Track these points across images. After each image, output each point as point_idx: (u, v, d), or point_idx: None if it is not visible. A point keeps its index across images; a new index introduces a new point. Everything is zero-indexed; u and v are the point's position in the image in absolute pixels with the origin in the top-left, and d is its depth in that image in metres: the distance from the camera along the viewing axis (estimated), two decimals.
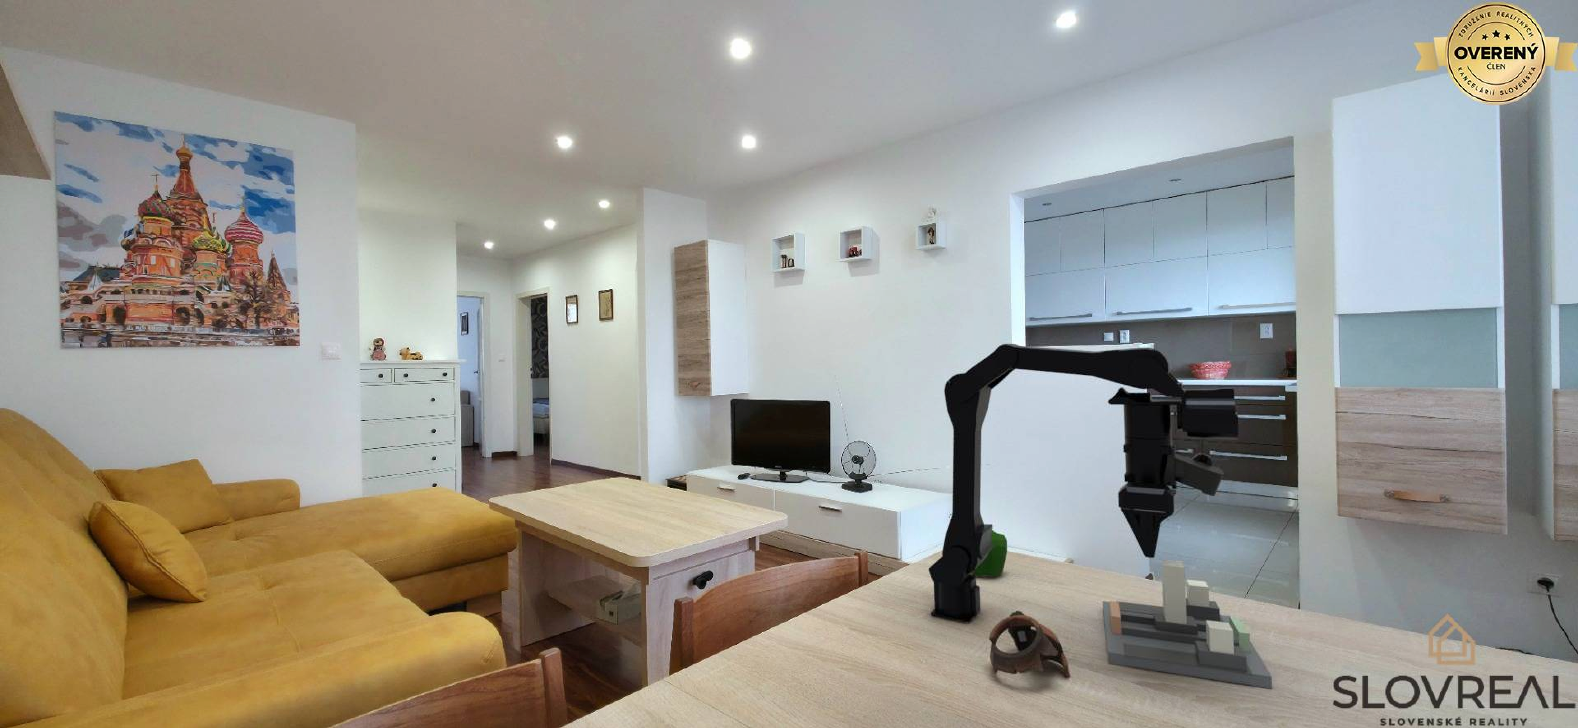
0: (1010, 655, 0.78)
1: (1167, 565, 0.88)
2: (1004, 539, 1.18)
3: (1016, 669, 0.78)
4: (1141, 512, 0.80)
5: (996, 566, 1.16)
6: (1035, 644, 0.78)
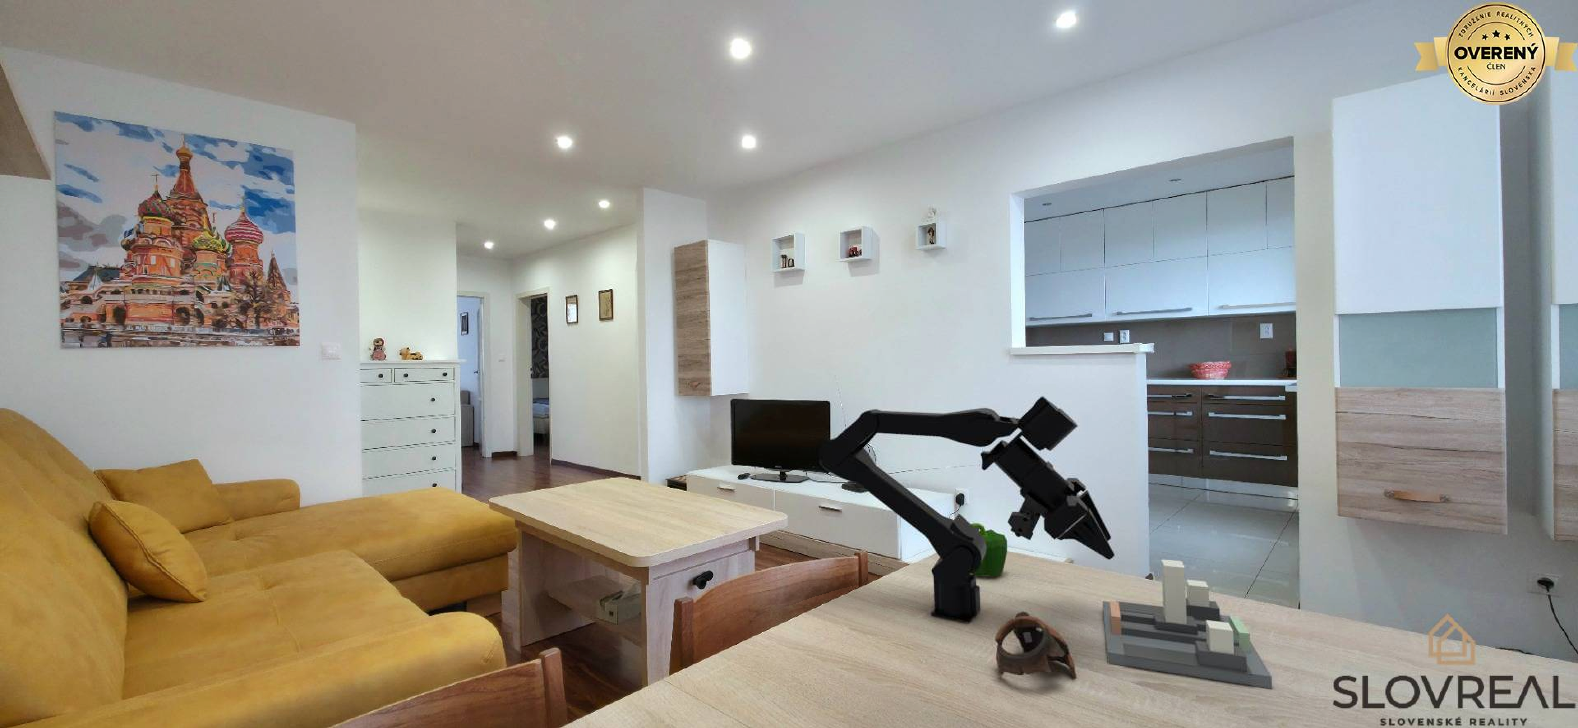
0: (1017, 656, 0.78)
1: (1167, 565, 0.88)
2: (1004, 539, 1.18)
3: (1023, 670, 0.78)
4: None
5: (996, 566, 1.16)
6: (1042, 645, 0.78)
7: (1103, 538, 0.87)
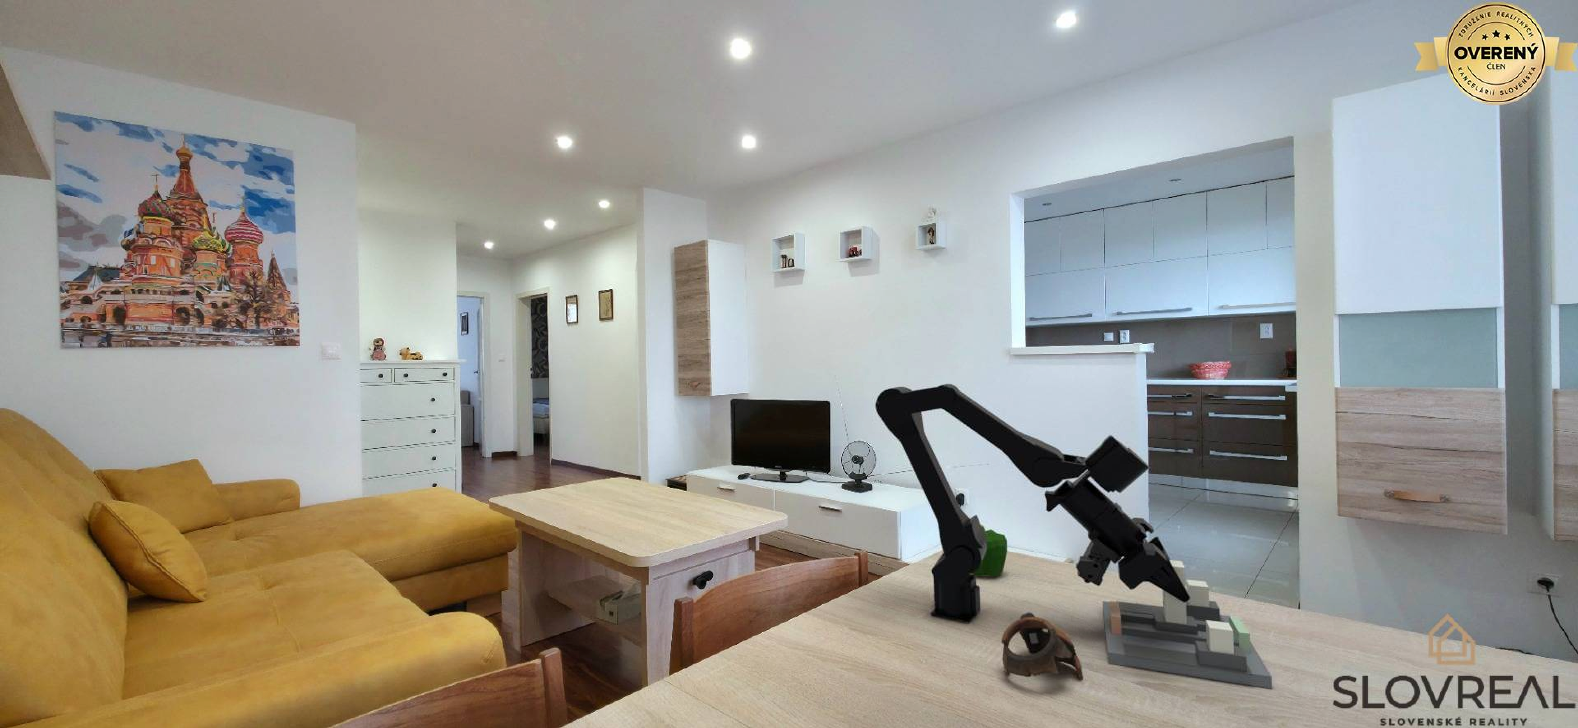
0: (1025, 657, 0.78)
1: None
2: (1004, 539, 1.18)
3: (1030, 672, 0.77)
4: None
5: (996, 566, 1.16)
6: (1049, 646, 0.77)
7: (1179, 581, 0.86)
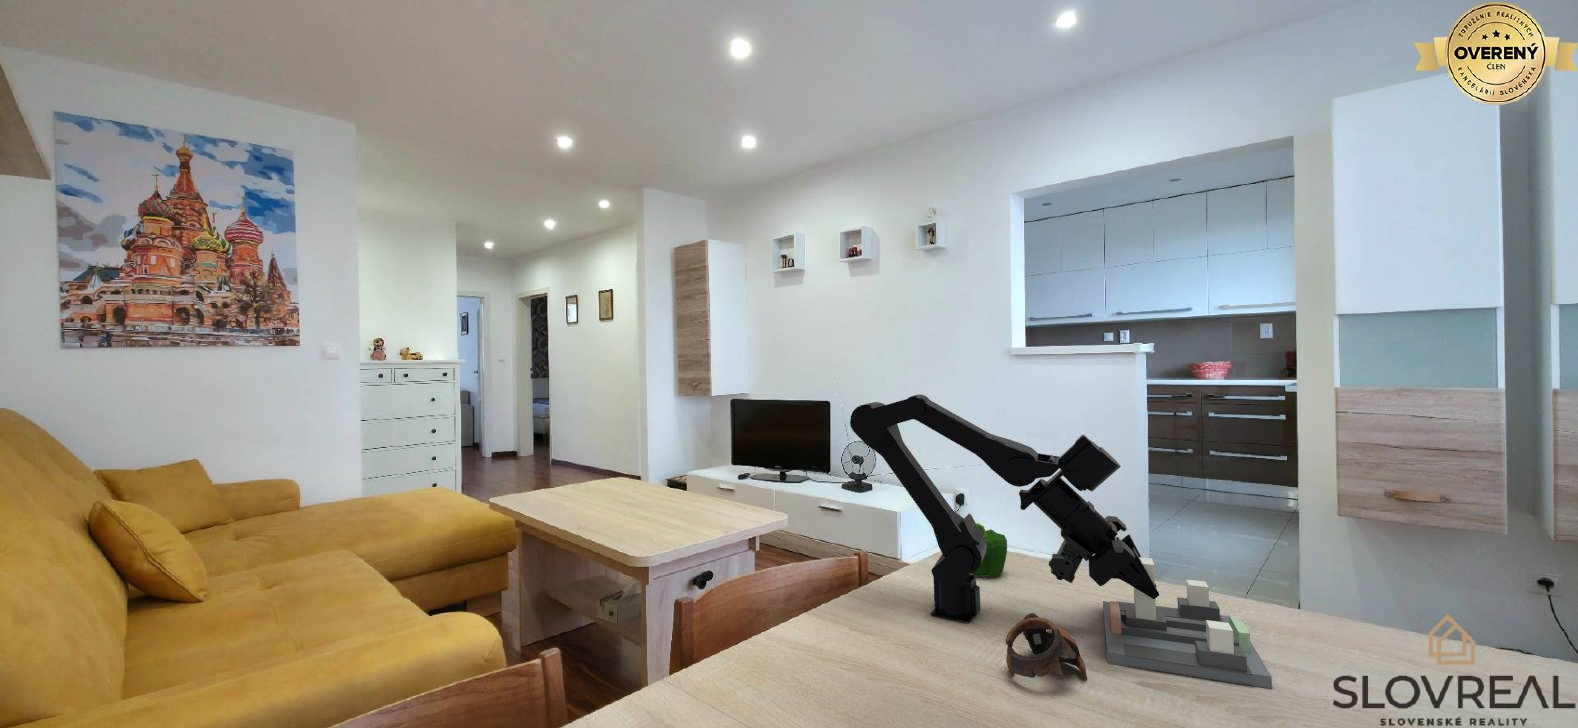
0: (1029, 658, 0.77)
1: None
2: (1004, 539, 1.18)
3: (1035, 673, 0.77)
4: None
5: (996, 566, 1.16)
6: (1054, 647, 0.77)
7: (1148, 578, 0.87)
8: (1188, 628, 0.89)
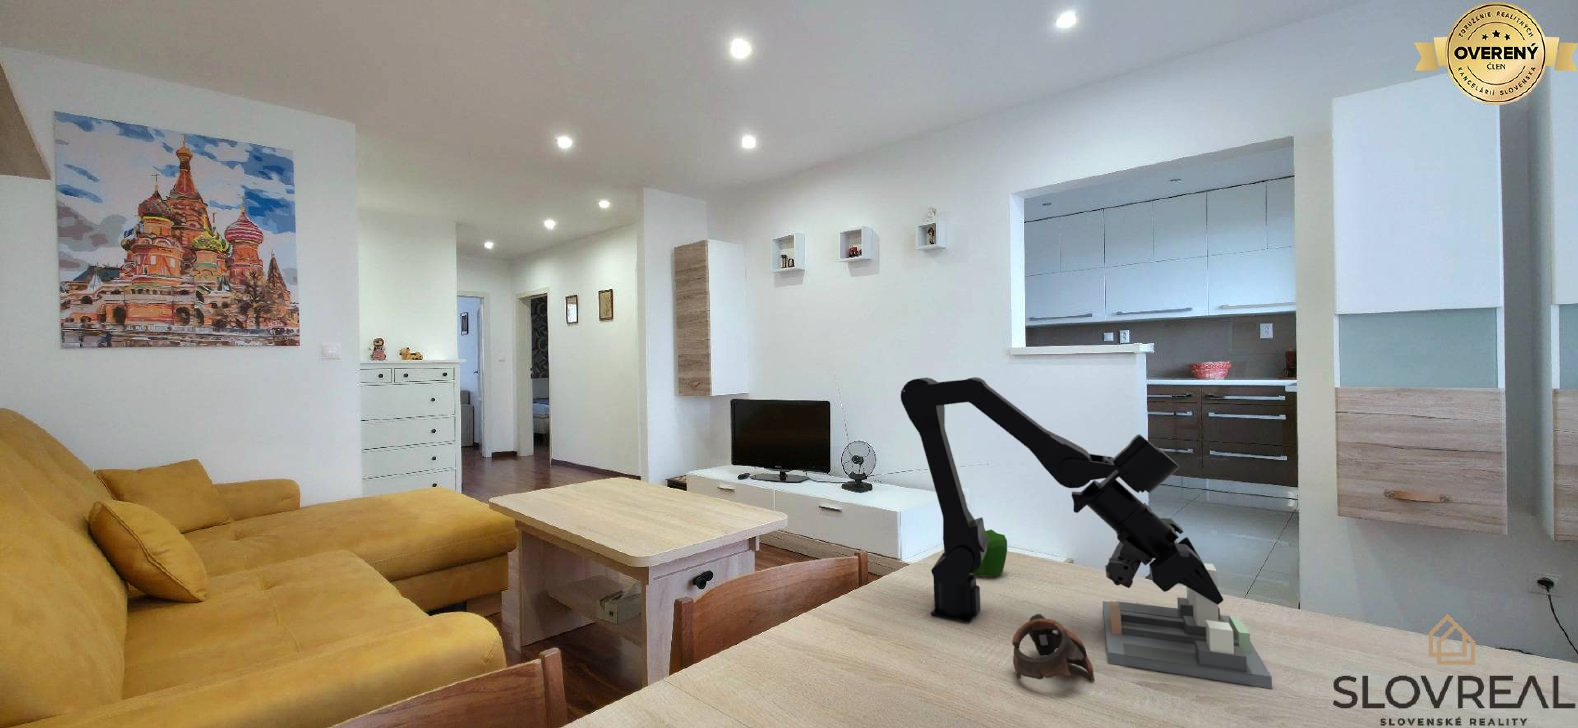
0: (1037, 660, 0.77)
1: None
2: (1004, 539, 1.18)
3: (1043, 674, 0.77)
4: None
5: (996, 566, 1.16)
6: (1062, 648, 0.77)
7: (1212, 582, 0.84)
8: None
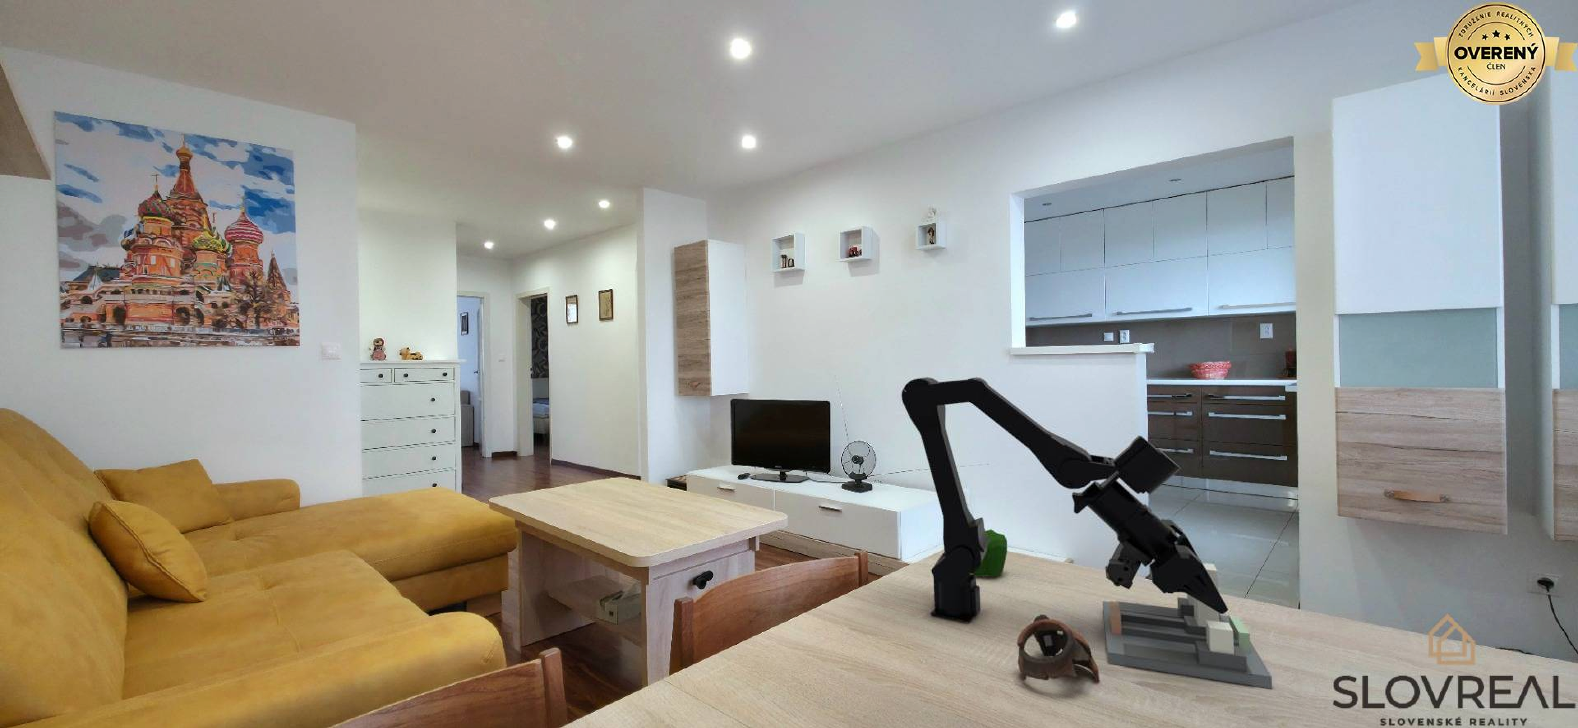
0: (1042, 660, 0.77)
1: None
2: (1004, 539, 1.18)
3: (1048, 675, 0.76)
4: None
5: (996, 566, 1.16)
6: (1067, 649, 0.76)
7: (1216, 591, 0.82)
8: None
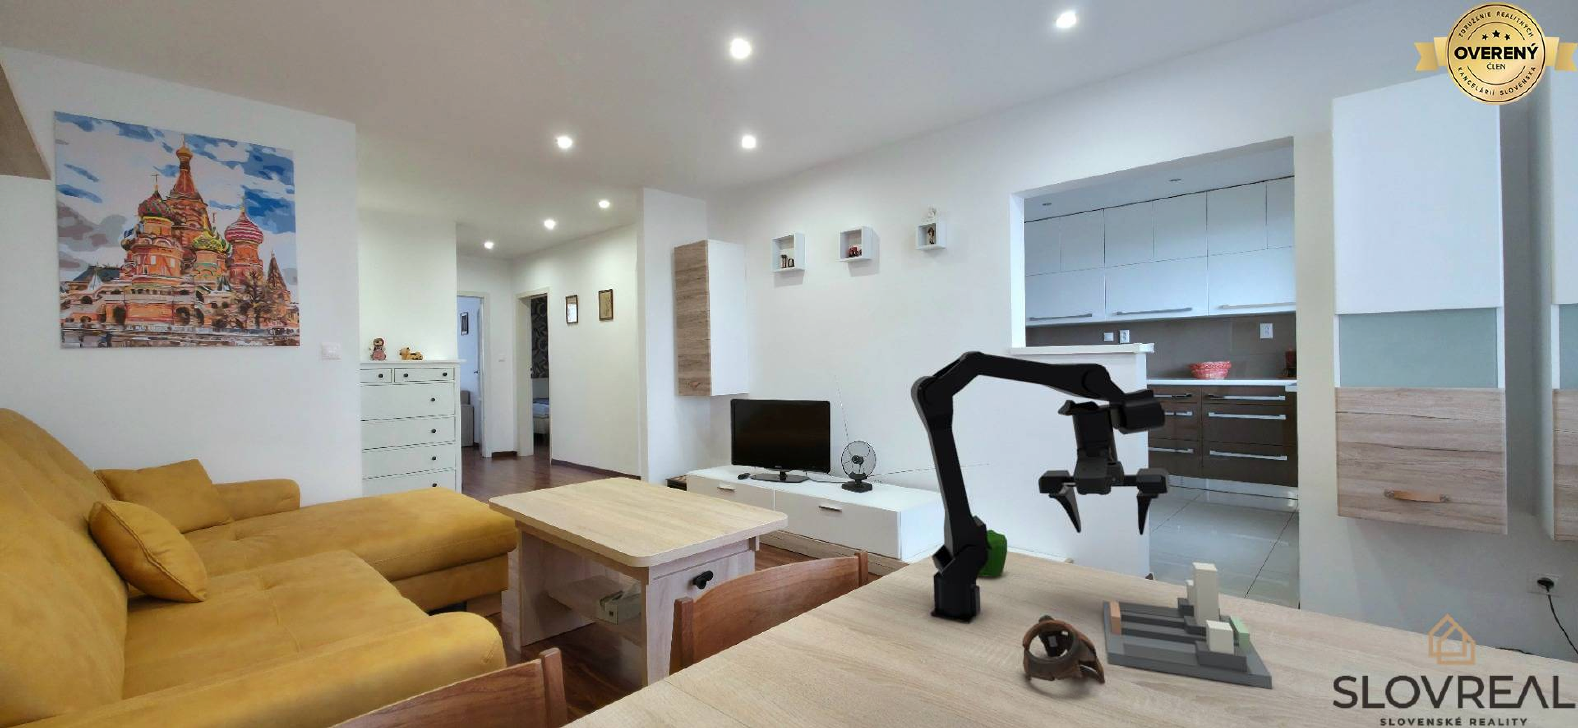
0: (1048, 661, 0.76)
1: (1199, 568, 0.86)
2: (1004, 539, 1.18)
3: (1054, 676, 0.76)
4: None
5: (996, 566, 1.16)
6: (1073, 650, 0.76)
7: None
8: None
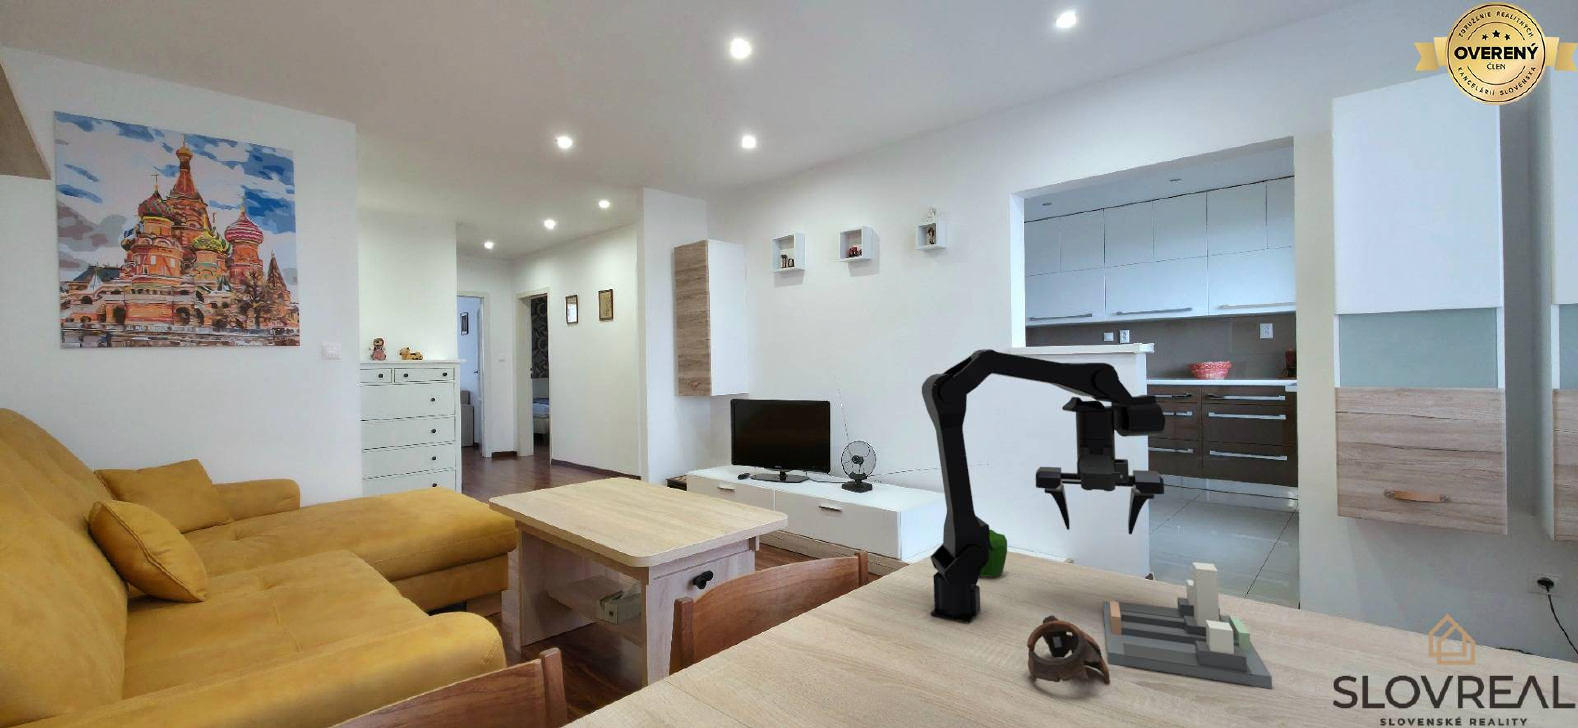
0: (1054, 662, 0.76)
1: (1199, 568, 0.86)
2: (1004, 539, 1.18)
3: (1060, 677, 0.76)
4: None
5: (996, 566, 1.16)
6: (1079, 651, 0.76)
7: None
8: None
